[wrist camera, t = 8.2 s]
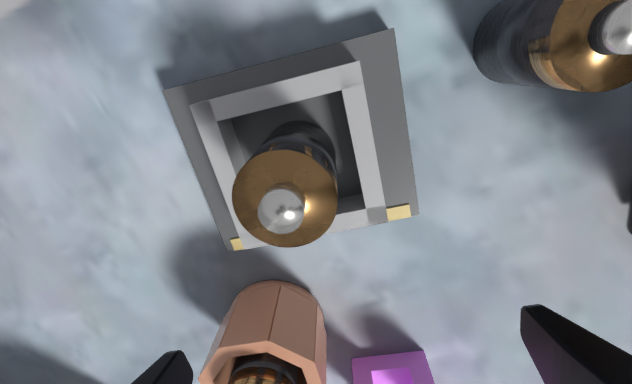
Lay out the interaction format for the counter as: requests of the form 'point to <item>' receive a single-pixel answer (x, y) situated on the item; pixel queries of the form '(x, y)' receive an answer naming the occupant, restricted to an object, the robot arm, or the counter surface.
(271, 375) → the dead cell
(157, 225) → the counter surface
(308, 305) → the cup
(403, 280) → the counter surface
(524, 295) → the counter surface
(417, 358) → the bracket
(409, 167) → the cradle
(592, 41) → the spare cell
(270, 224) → the cell
